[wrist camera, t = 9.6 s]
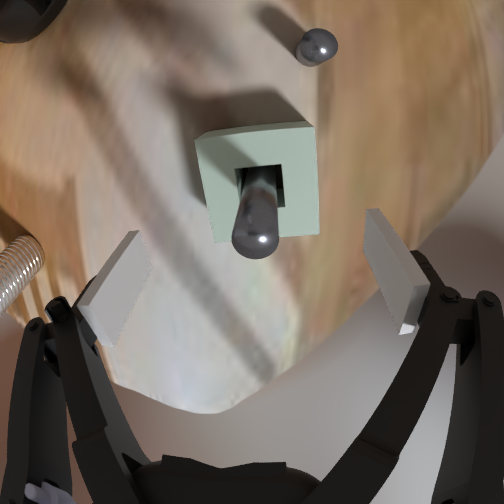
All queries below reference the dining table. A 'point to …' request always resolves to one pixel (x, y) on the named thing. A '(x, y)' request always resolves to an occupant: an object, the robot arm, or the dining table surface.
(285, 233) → the hole block
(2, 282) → the water bottle
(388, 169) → the dining table surface
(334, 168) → the dining table surface
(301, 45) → the short pin
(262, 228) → the long pin
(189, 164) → the dining table surface
